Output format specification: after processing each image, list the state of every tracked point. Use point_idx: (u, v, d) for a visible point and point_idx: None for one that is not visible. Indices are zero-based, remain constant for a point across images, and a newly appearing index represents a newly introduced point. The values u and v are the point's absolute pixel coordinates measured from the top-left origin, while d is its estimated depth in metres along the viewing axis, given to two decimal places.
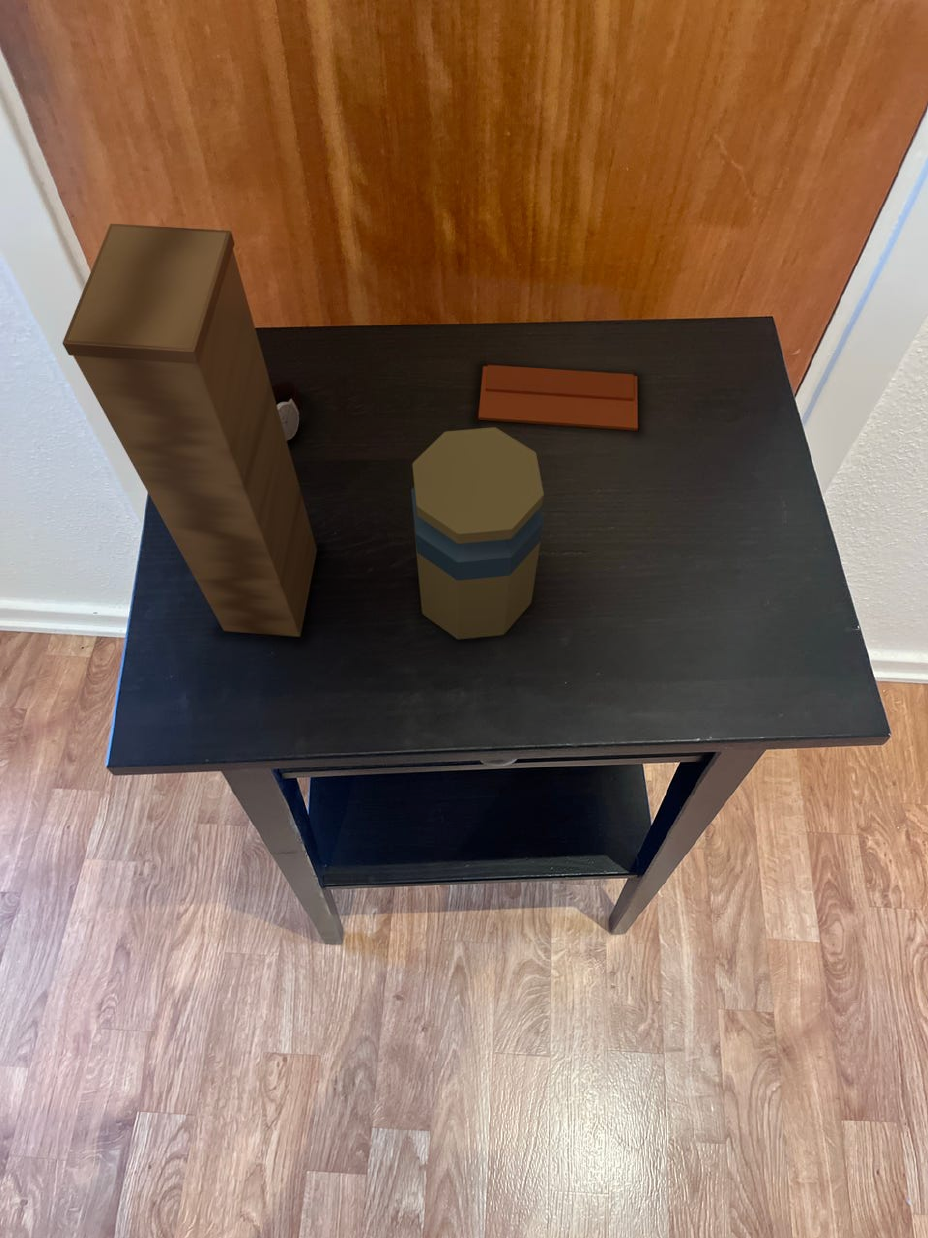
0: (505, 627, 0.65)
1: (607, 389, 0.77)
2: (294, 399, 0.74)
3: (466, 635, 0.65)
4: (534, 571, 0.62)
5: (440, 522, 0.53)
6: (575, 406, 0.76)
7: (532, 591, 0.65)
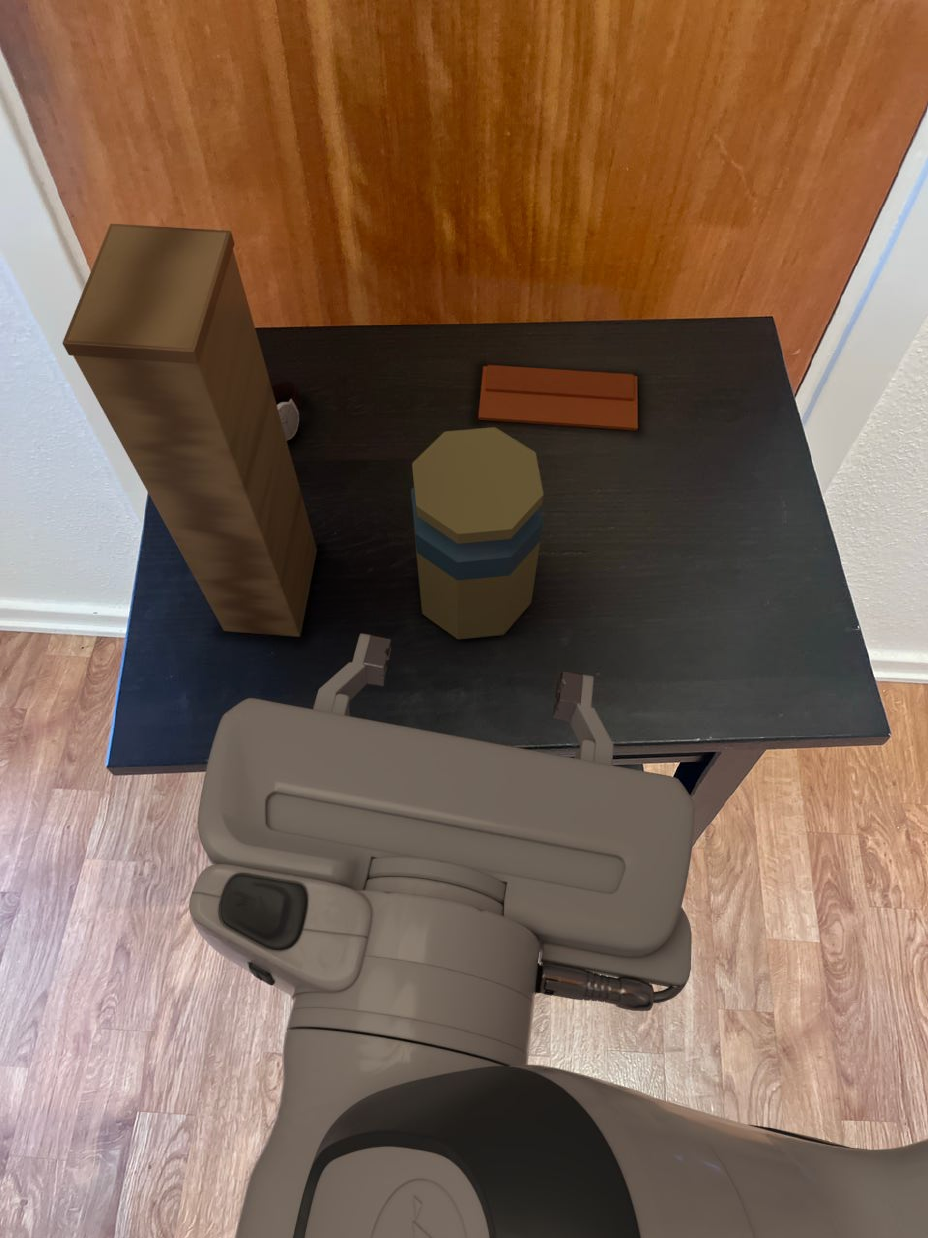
0: (505, 627, 0.65)
1: (607, 389, 0.77)
2: (294, 399, 0.74)
3: (466, 635, 0.65)
4: (534, 571, 0.62)
5: (440, 522, 0.53)
6: (575, 406, 0.76)
7: (532, 591, 0.65)
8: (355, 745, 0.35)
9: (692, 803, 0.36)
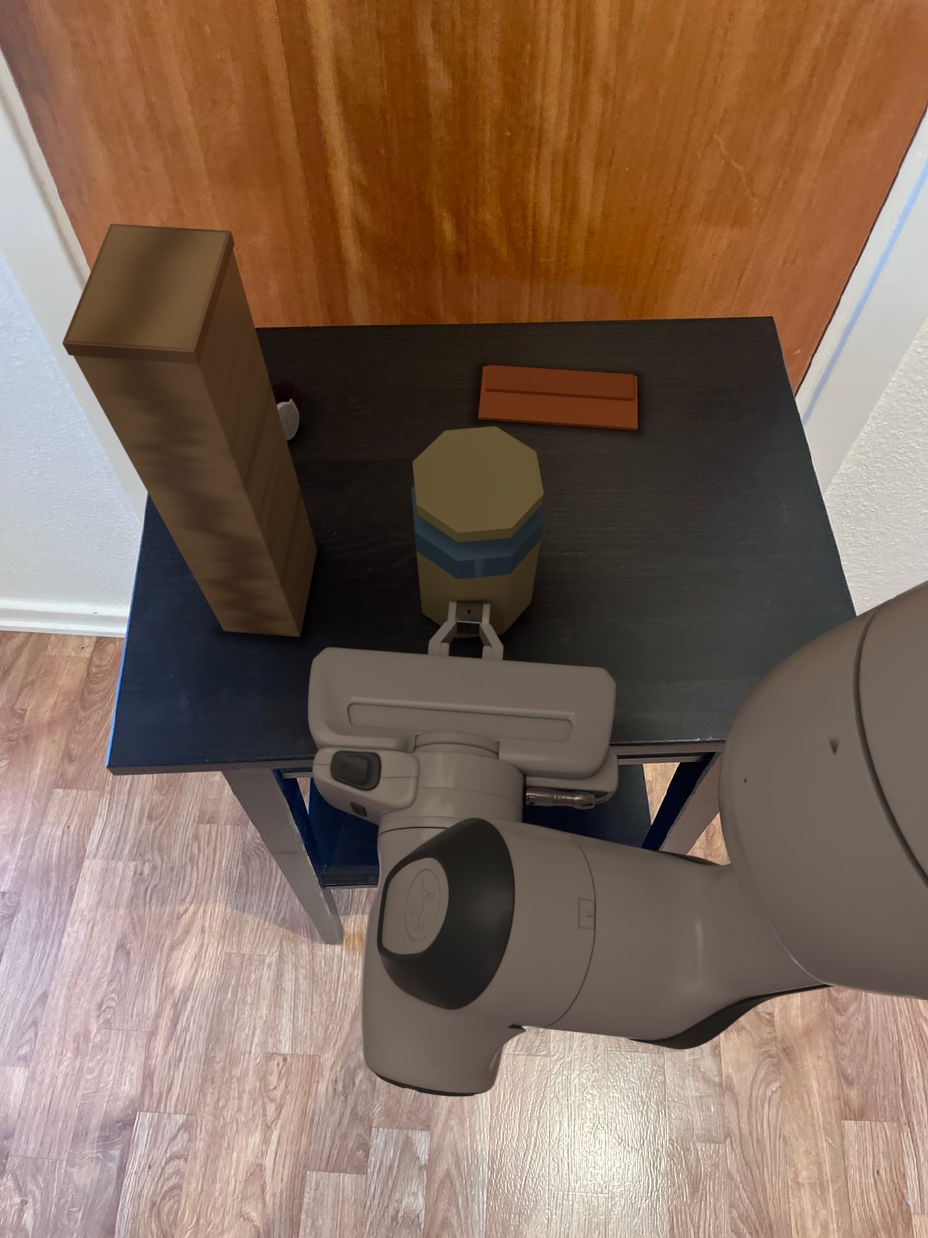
0: (505, 626, 0.65)
1: (607, 389, 0.77)
2: (294, 399, 0.74)
3: (466, 634, 0.65)
4: (534, 570, 0.62)
5: (440, 521, 0.53)
6: (575, 406, 0.76)
7: (532, 590, 0.65)
8: (397, 669, 0.56)
9: (613, 682, 0.56)
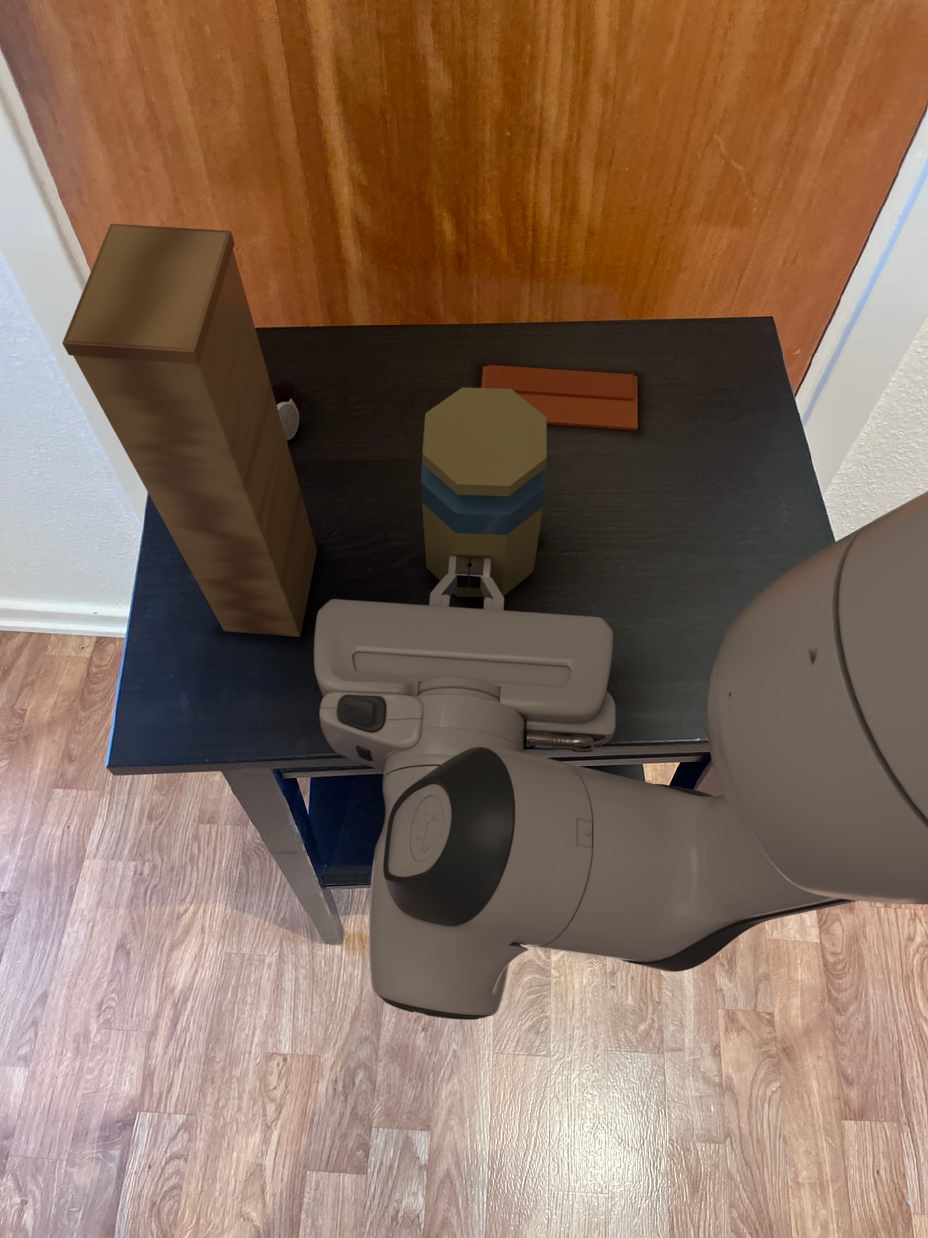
0: (503, 590, 0.66)
1: (607, 389, 0.77)
2: (294, 399, 0.74)
3: (465, 593, 0.66)
4: (536, 537, 0.63)
5: (442, 471, 0.55)
6: (575, 406, 0.76)
7: (534, 559, 0.66)
8: (401, 619, 0.58)
9: (611, 631, 0.58)
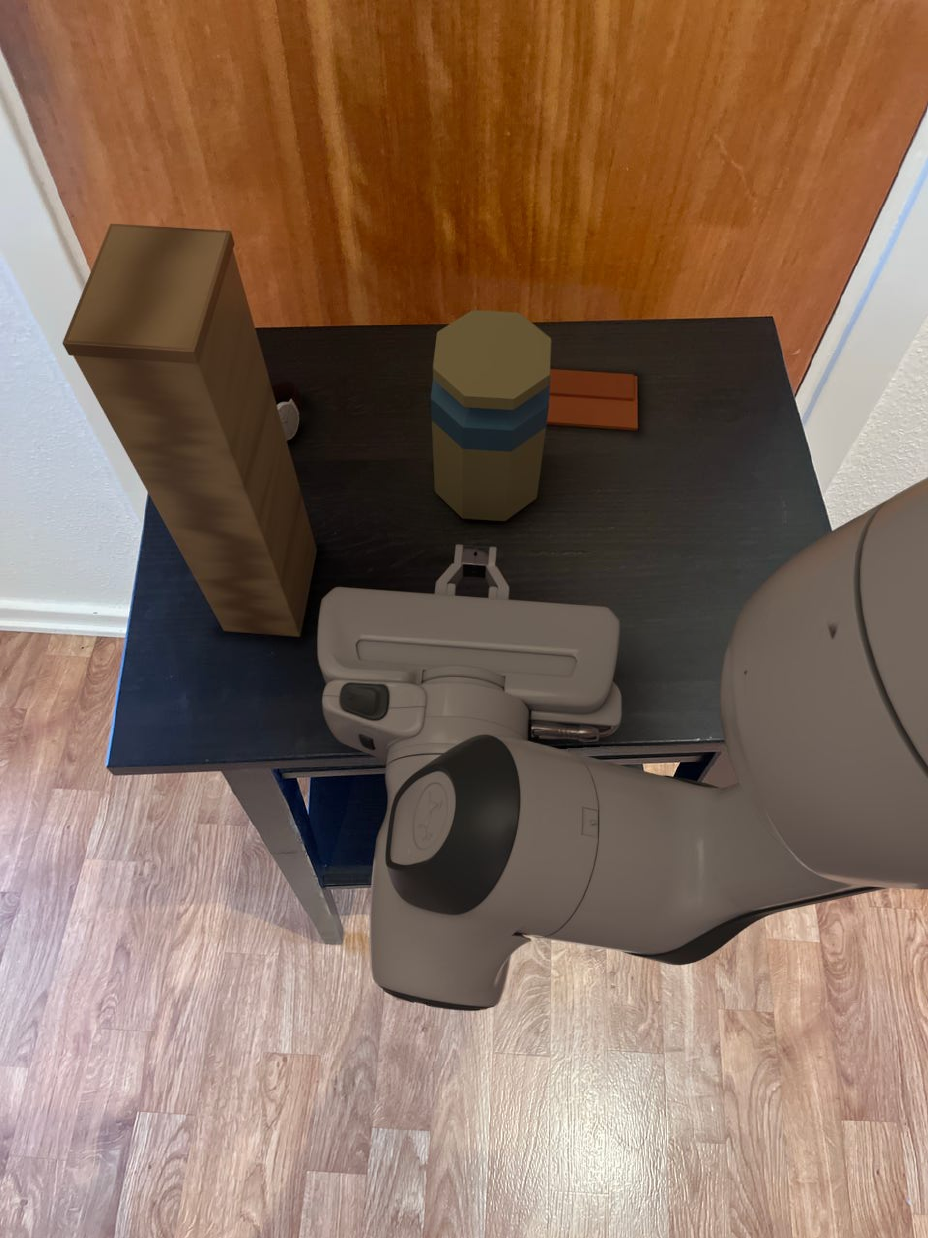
0: (507, 513, 0.69)
1: (607, 389, 0.77)
2: (294, 399, 0.74)
3: (470, 515, 0.70)
4: (539, 460, 0.67)
5: (450, 384, 0.58)
6: (575, 406, 0.76)
7: None
8: (405, 608, 0.57)
9: (617, 621, 0.57)
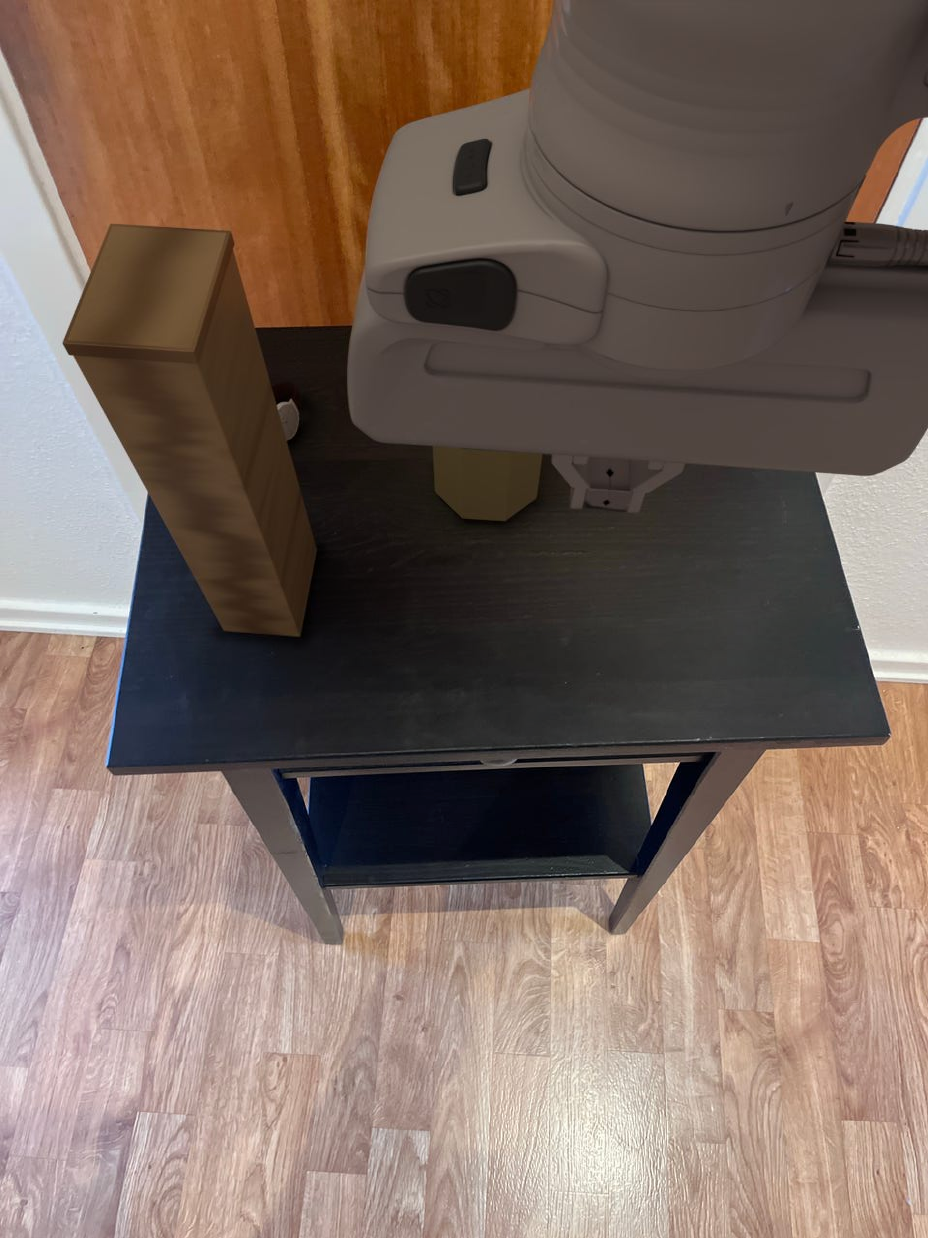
0: (507, 513, 0.69)
1: None
2: (294, 399, 0.74)
3: (470, 515, 0.70)
4: (539, 460, 0.67)
5: None
6: None
7: (537, 484, 0.69)
8: None
9: None
